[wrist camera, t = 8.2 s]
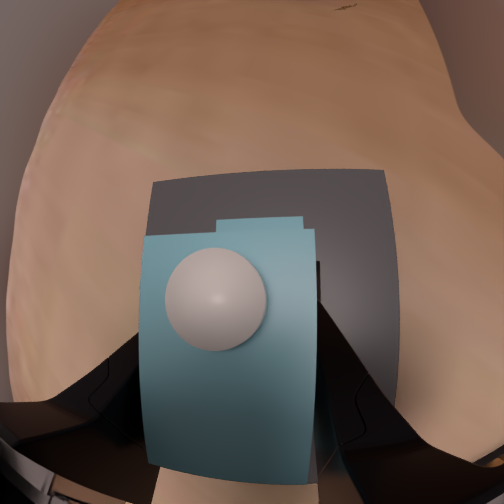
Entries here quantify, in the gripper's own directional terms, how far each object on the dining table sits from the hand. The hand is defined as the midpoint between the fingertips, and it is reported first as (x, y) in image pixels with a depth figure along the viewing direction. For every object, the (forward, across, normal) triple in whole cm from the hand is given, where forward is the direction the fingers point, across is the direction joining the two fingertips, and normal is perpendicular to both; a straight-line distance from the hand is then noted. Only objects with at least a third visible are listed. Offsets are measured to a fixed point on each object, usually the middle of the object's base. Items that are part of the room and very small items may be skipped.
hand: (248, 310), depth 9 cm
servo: (+4, 0, +6) cm, 7 cm away
